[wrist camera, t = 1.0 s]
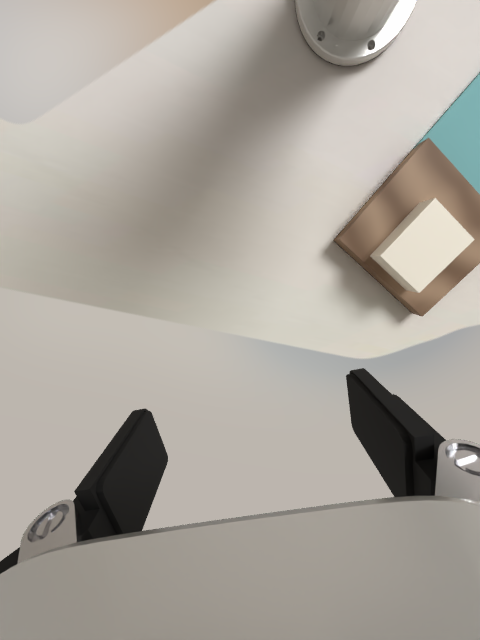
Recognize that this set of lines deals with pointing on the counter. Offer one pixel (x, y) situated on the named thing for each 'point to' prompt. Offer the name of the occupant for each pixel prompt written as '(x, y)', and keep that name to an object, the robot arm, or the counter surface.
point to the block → (422, 245)
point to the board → (395, 205)
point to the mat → (461, 133)
